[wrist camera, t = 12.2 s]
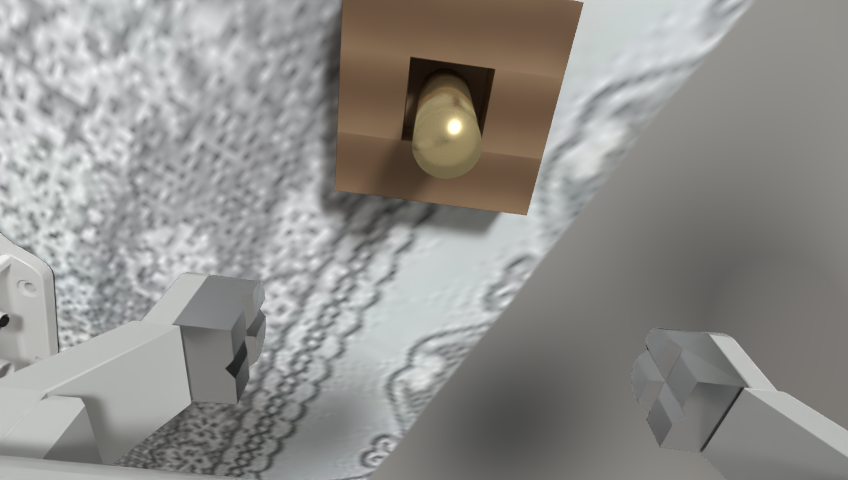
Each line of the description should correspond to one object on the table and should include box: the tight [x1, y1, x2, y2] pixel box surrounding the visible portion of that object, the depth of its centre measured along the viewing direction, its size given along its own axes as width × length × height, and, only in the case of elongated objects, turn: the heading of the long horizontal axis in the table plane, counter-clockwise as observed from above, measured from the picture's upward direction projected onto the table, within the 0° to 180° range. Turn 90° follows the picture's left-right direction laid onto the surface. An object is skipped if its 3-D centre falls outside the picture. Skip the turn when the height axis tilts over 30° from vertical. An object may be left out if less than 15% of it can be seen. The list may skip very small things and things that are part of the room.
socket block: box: [335, 0, 583, 215], centre depth 28 cm, size 12×12×4 cm
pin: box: [412, 68, 482, 179], centre depth 25 cm, size 3×3×10 cm
